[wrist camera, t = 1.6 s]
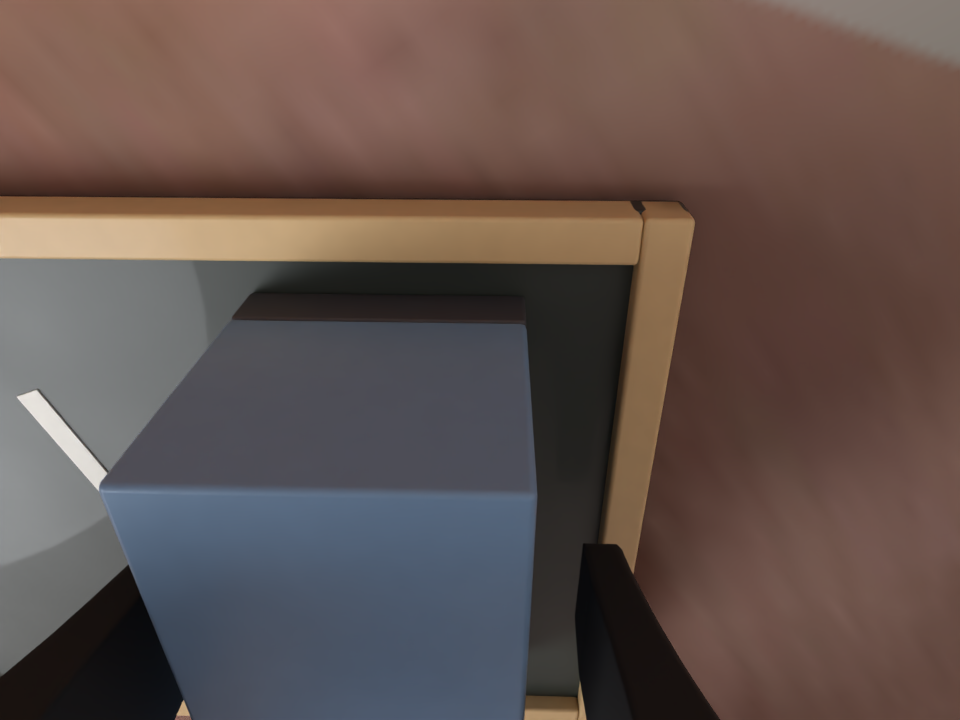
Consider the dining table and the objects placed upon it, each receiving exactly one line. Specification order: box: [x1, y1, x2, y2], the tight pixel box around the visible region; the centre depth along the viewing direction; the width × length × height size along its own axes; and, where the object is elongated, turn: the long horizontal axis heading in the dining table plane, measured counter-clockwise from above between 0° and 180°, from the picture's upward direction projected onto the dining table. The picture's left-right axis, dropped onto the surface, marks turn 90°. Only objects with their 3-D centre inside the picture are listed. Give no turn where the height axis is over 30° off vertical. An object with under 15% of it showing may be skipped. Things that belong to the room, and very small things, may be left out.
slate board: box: [0, 196, 695, 720], centre depth 14 cm, size 14×26×1 cm, turn 90°
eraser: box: [99, 293, 537, 720], centre depth 12 cm, size 10×5×5 cm, turn 0°
